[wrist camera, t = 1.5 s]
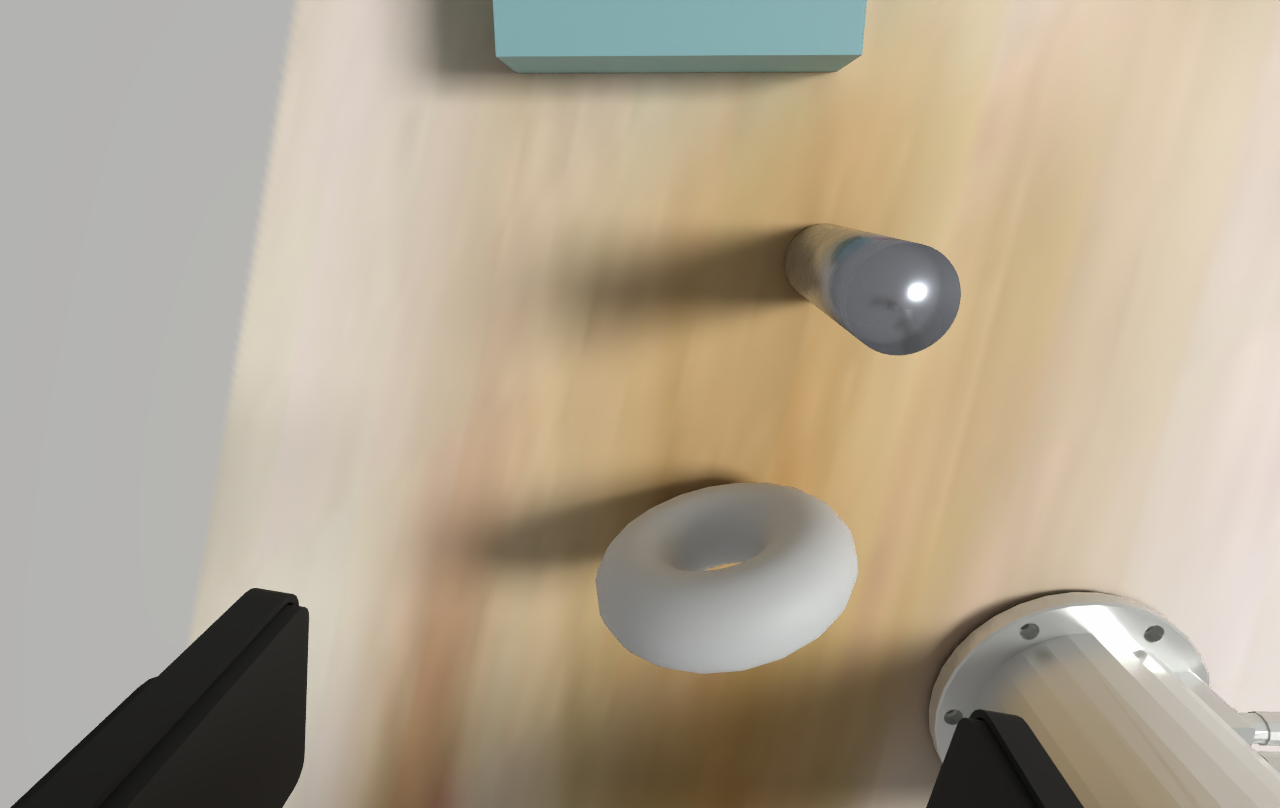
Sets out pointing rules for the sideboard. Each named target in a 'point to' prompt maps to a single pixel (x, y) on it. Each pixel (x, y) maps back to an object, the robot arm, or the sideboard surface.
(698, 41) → the slot block
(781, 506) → the donut
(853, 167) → the sideboard surface
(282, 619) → the robot arm
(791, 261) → the steel pin
